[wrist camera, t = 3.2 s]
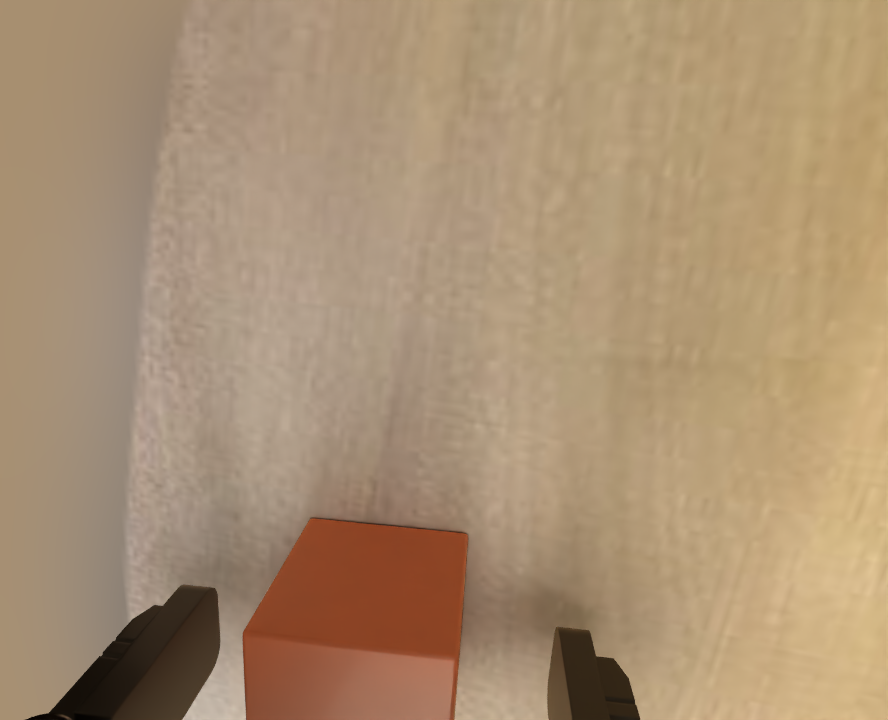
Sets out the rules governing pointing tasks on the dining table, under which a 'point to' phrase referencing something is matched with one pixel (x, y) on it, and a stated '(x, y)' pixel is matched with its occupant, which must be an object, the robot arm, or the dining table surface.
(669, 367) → the dining table surface
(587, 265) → the dining table surface
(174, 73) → the dining table surface
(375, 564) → the terracotta block
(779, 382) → the dining table surface
